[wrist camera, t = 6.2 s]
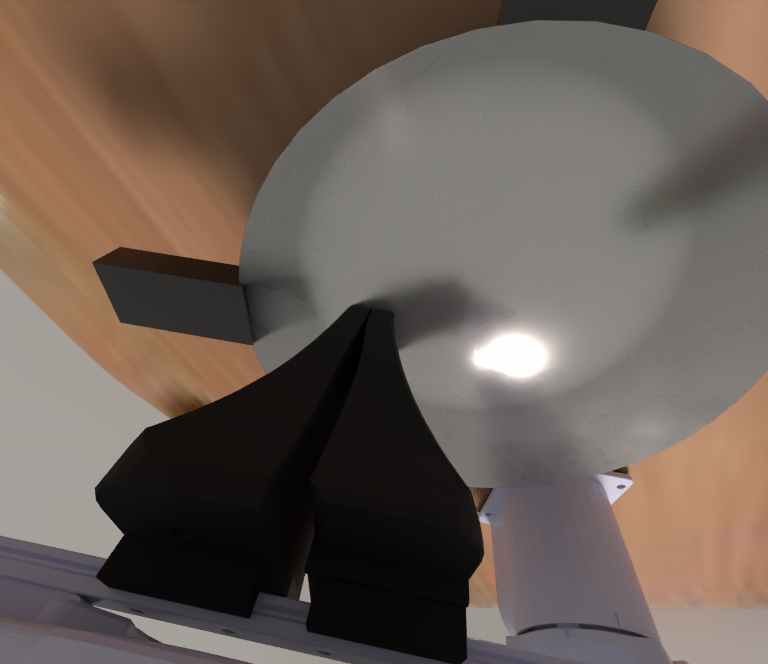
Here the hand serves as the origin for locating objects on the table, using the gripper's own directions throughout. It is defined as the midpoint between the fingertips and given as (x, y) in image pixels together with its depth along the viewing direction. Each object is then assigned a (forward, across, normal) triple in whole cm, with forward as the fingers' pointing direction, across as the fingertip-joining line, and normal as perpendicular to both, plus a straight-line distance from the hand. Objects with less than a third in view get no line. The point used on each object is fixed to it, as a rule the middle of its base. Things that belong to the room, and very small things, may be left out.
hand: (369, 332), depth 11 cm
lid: (+1, -1, 0) cm, 2 cm away
